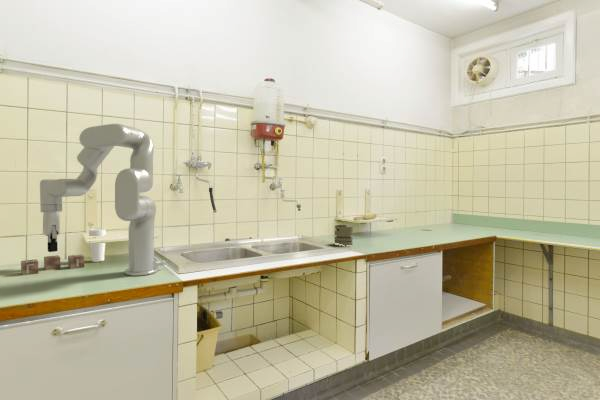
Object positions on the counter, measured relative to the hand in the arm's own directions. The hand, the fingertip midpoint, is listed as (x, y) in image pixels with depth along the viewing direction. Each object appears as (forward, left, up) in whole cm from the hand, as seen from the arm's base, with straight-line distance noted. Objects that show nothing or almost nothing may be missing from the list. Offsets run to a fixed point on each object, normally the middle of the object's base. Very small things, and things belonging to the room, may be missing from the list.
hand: (52, 251), depth 147 cm
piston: (-144, +42, -8) cm, 150 cm away
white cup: (-18, -3, -8) cm, 20 cm away
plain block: (0, 0, -7) cm, 7 cm away
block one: (-8, +4, -7) cm, 11 cm away
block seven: (+8, +4, -7) cm, 12 cm away
